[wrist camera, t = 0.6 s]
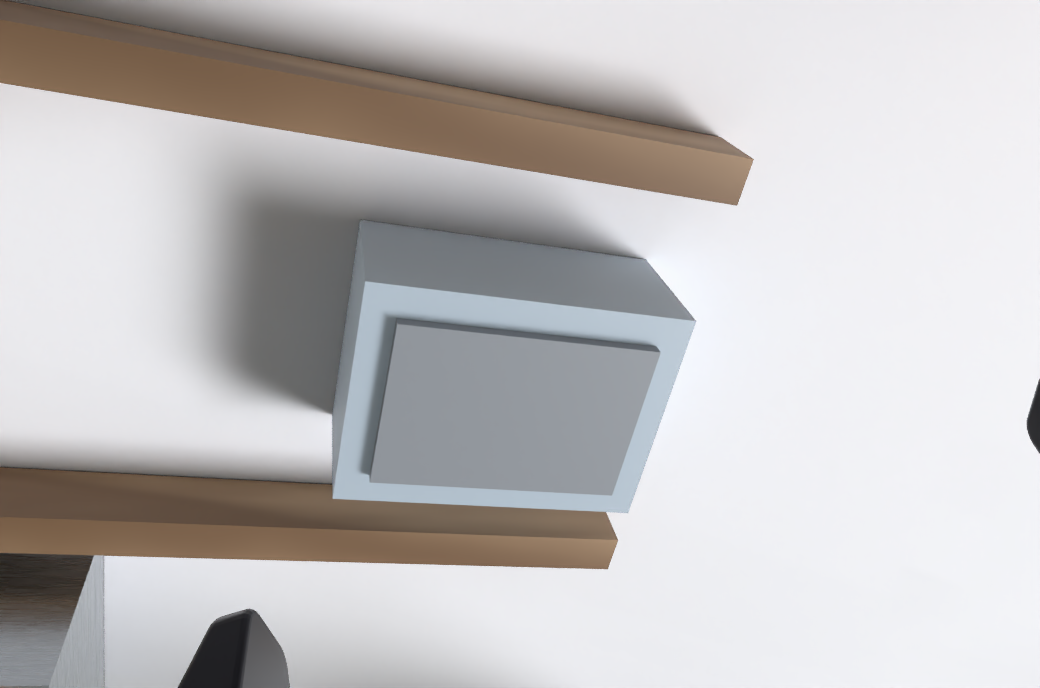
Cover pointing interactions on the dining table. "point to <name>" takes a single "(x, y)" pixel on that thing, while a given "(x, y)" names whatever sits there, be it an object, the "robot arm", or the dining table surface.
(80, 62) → the brown wooden flat frame
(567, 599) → the dining table surface
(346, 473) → the carriage
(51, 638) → the grey peg hole block
